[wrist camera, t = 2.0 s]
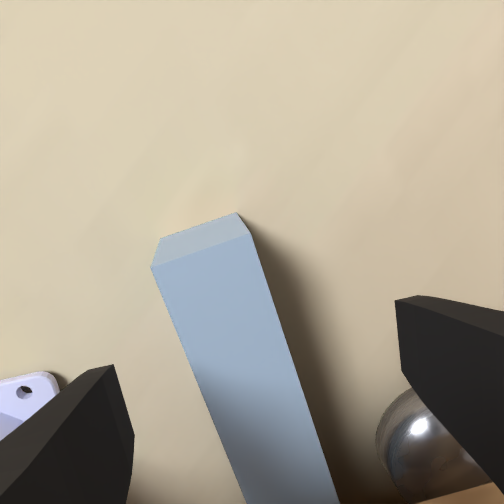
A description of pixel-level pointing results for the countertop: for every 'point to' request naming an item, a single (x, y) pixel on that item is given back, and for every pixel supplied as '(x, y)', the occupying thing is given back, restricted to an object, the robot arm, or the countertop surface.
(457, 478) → the grey round puck
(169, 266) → the push bar
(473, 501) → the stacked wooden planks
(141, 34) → the countertop surface
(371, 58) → the countertop surface
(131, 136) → the countertop surface
